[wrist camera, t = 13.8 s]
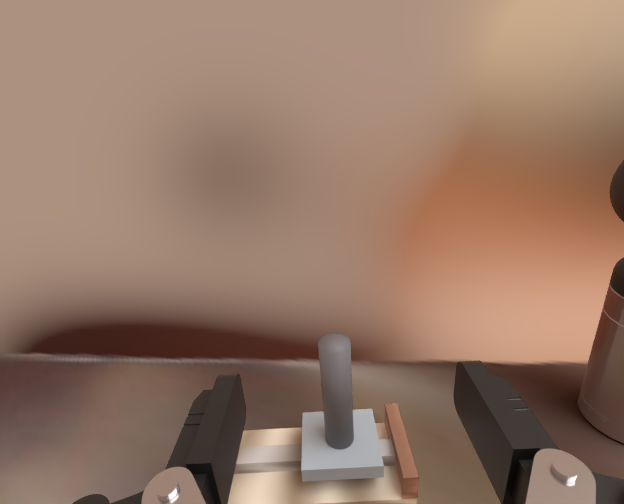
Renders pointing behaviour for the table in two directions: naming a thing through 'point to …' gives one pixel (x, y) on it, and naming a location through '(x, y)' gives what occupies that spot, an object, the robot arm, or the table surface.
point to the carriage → (339, 423)
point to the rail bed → (330, 493)
